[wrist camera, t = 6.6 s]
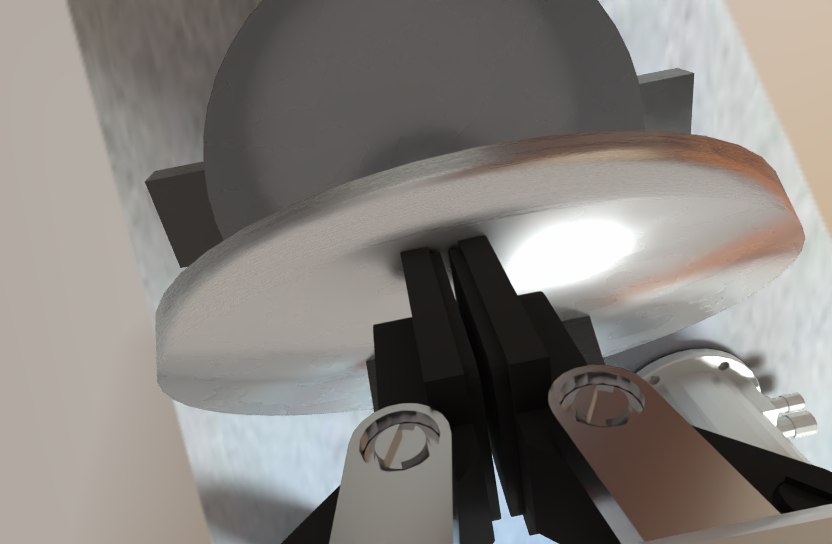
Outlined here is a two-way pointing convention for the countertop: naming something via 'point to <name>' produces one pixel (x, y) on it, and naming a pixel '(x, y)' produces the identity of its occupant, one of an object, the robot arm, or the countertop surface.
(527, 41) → the cooker pot
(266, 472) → the countertop surface
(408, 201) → the cooker lid
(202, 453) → the countertop surface
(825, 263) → the countertop surface
